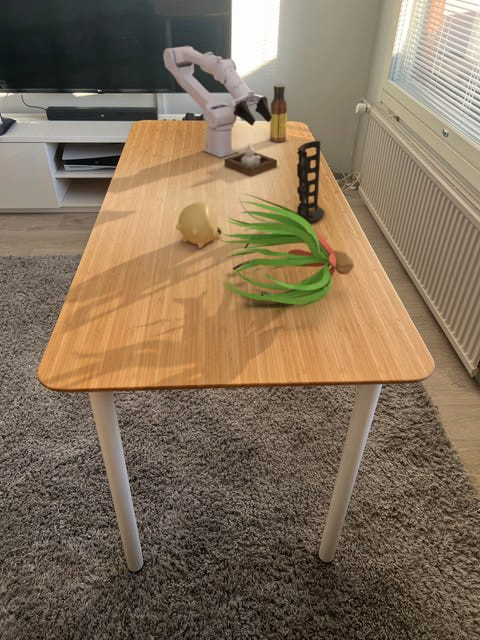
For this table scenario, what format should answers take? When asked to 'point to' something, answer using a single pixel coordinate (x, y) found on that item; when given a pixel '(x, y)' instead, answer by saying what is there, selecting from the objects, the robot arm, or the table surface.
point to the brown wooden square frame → (237, 165)
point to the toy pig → (198, 224)
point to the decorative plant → (289, 256)
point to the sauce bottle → (278, 115)
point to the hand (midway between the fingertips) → (261, 121)
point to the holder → (308, 182)
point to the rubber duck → (250, 157)
